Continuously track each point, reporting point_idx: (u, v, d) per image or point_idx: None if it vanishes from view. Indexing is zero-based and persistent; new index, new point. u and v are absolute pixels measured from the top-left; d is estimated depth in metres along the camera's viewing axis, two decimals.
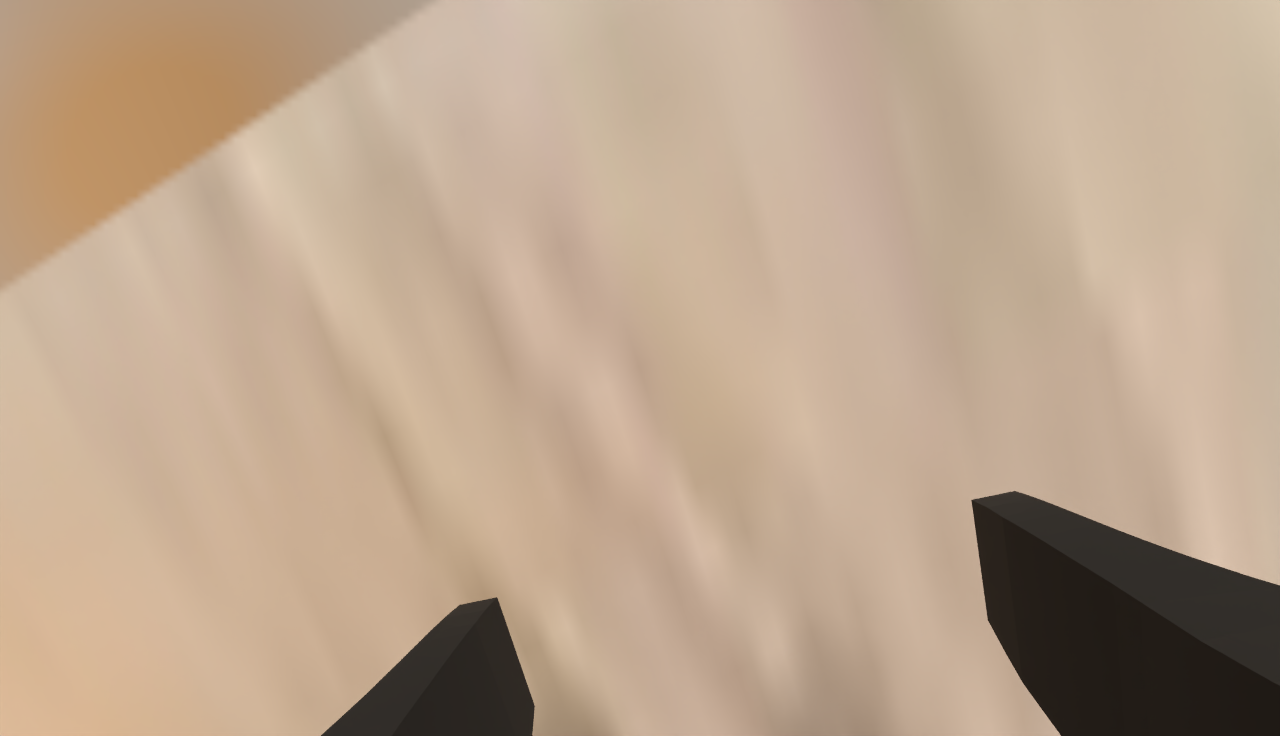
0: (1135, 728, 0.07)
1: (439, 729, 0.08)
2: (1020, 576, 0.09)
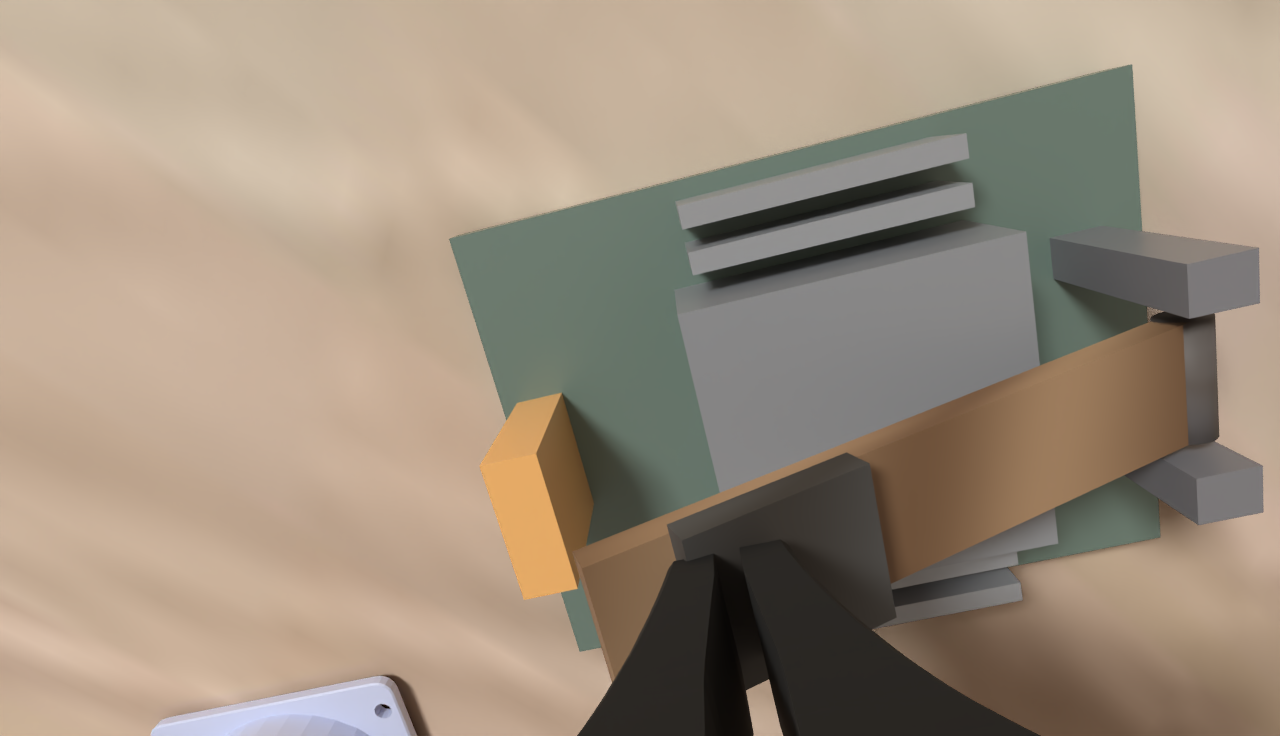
0: None
1: (718, 676, 0.08)
2: (758, 627, 0.09)
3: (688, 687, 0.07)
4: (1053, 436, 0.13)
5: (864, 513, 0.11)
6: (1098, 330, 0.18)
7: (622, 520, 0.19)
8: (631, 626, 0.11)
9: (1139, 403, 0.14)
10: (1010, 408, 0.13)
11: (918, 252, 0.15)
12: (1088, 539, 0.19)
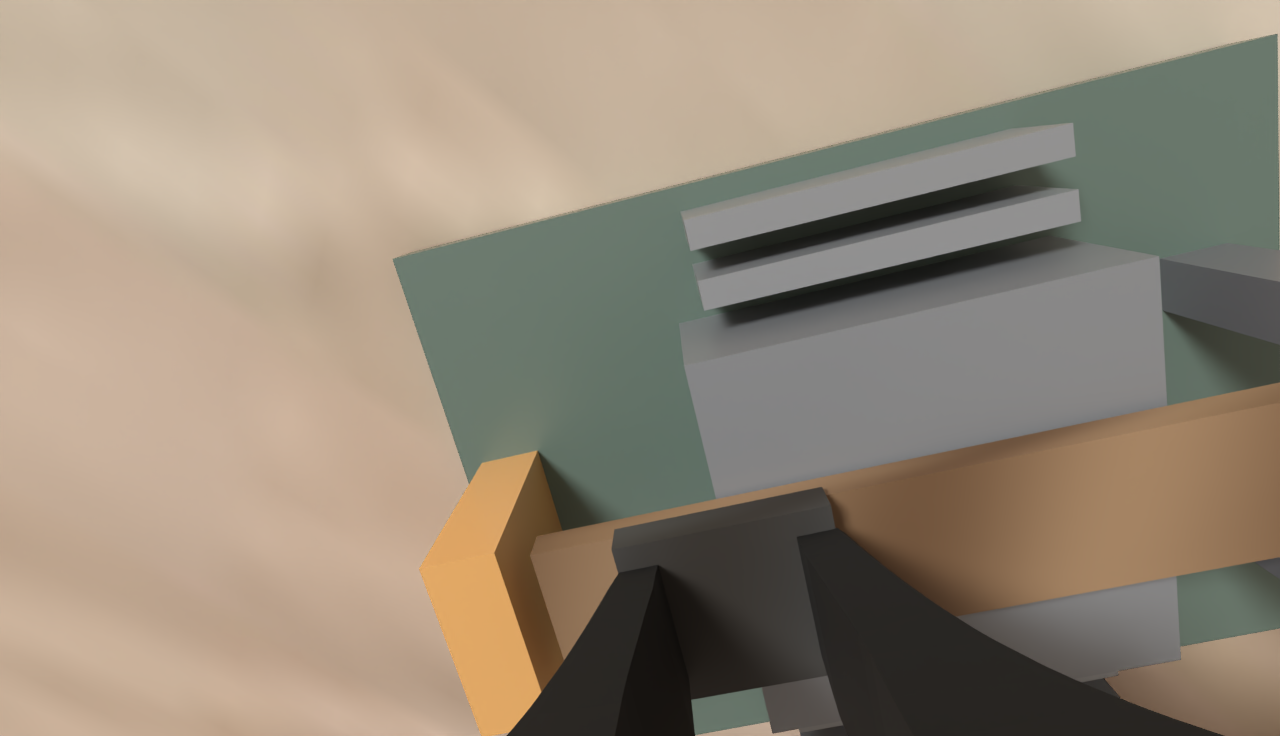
0: None
1: (646, 690, 0.08)
2: (822, 614, 0.09)
3: (606, 702, 0.07)
4: (1120, 504, 0.11)
5: None
6: (1217, 375, 0.14)
7: None
8: (580, 615, 0.11)
9: (1270, 479, 0.10)
10: (1053, 464, 0.10)
11: (1007, 282, 0.11)
12: (1192, 630, 0.15)
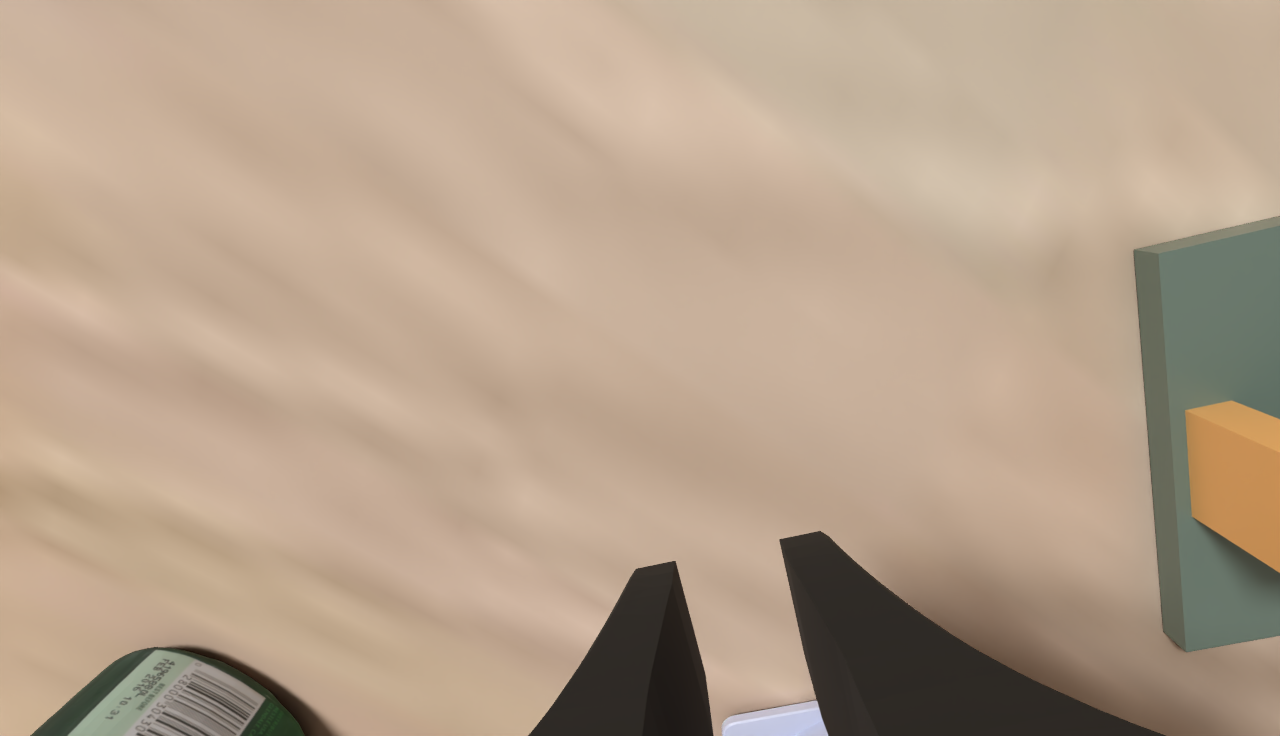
0: None
1: (669, 686, 0.08)
2: (803, 618, 0.09)
3: (632, 697, 0.07)
4: None
5: None
6: None
7: None
8: None
9: None
10: None
11: None
12: None
